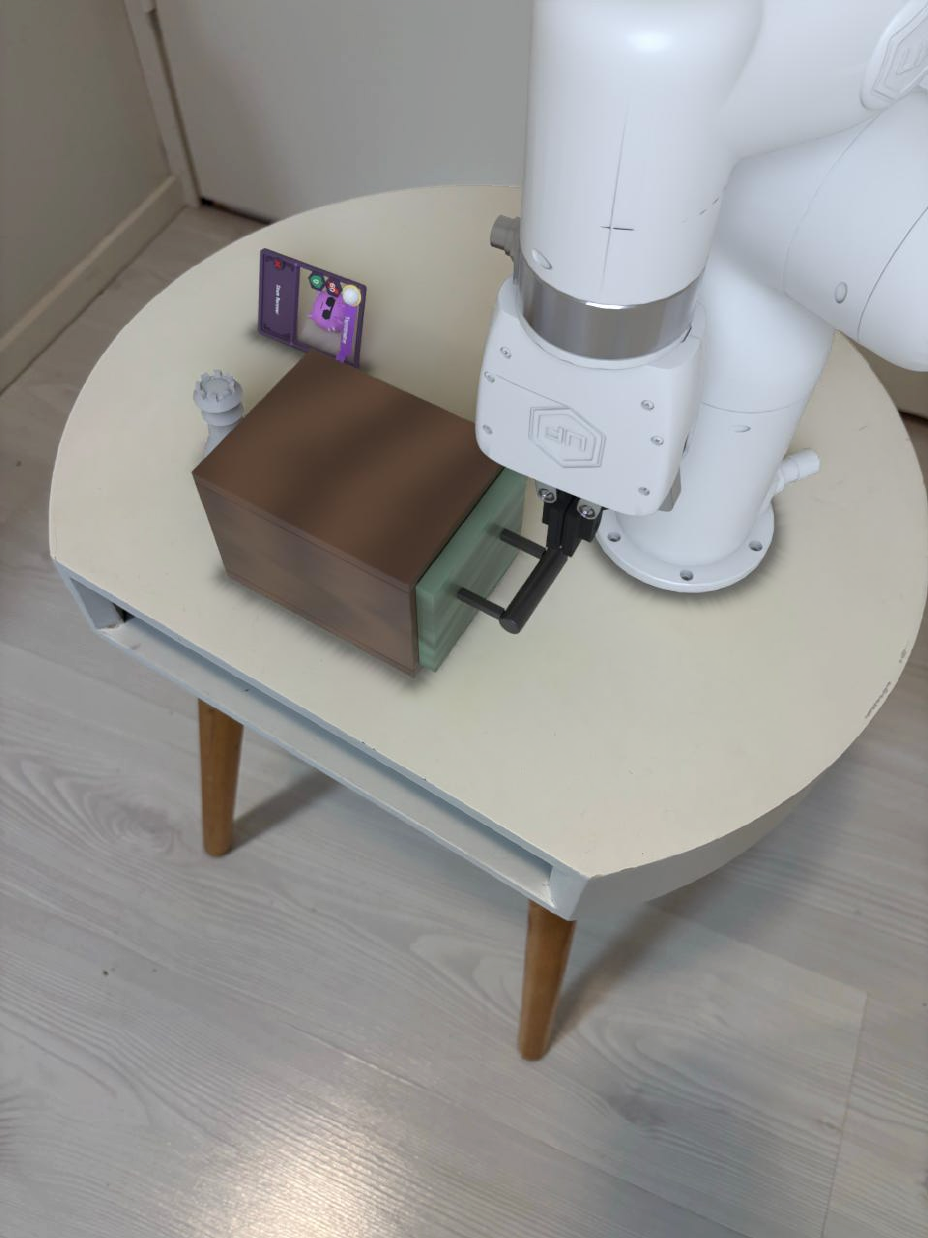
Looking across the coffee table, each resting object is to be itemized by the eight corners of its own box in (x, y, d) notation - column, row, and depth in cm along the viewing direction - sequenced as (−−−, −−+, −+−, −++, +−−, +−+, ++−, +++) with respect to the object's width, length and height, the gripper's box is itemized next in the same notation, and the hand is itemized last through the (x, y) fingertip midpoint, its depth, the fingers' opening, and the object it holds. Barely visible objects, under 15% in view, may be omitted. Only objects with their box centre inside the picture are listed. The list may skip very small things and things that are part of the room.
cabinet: (507, 547, 66) (516, 441, 57) (414, 678, 61) (408, 585, 52) (329, 460, 70) (311, 347, 61) (227, 576, 65) (190, 471, 55)
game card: (254, 250, 71) (359, 290, 69) (293, 233, 75) (394, 269, 73) (252, 335, 76) (350, 374, 74) (289, 314, 80) (384, 351, 78)
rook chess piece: (258, 493, 68) (236, 414, 61) (197, 482, 69) (169, 403, 62) (276, 446, 70) (258, 364, 64) (218, 436, 71) (193, 354, 64)
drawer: (575, 581, 64) (593, 497, 56) (495, 705, 59) (502, 632, 51) (350, 470, 68) (338, 378, 61) (259, 577, 63) (233, 492, 56)
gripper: (406, 277, 40) (424, 533, 56) (750, 401, 36) (666, 637, 52) (488, 175, 43) (483, 443, 59) (811, 279, 40) (714, 535, 56)
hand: (569, 534), depth 56 cm, fingers closed
